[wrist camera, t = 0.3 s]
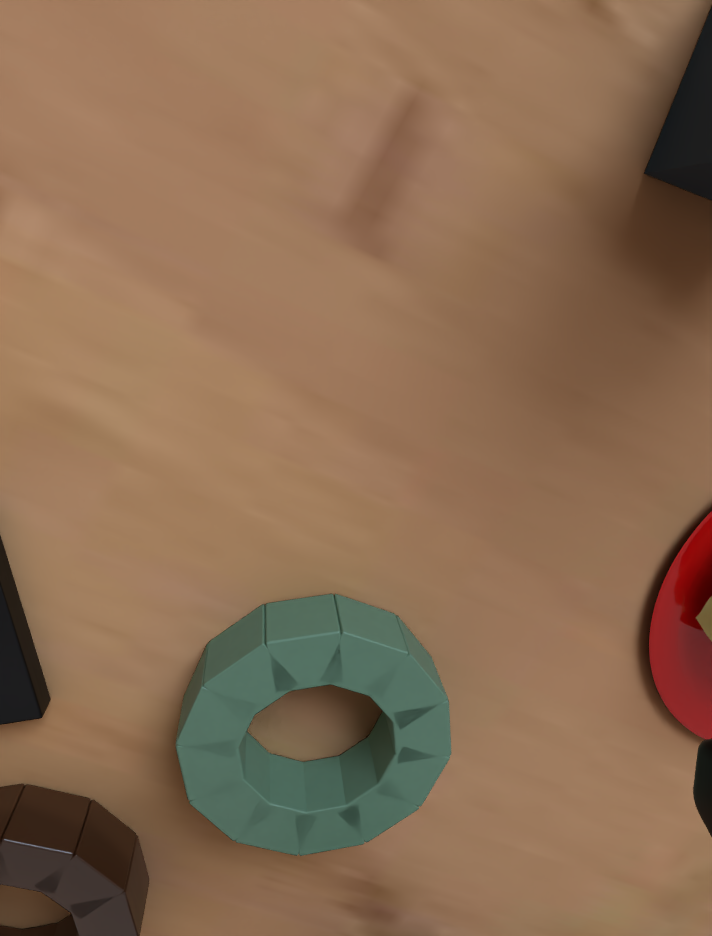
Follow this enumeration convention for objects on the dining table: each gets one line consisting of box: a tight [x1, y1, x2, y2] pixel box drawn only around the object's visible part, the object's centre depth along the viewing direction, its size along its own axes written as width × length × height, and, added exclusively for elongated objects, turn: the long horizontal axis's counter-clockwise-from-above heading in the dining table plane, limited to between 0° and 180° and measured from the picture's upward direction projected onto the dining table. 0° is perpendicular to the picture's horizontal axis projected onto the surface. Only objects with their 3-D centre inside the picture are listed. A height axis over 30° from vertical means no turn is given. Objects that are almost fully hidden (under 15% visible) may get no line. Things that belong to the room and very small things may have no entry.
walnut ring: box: [0, 784, 149, 936], centre depth 24 cm, size 9×9×2 cm
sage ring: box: [176, 594, 451, 856], centre depth 23 cm, size 9×9×2 cm
